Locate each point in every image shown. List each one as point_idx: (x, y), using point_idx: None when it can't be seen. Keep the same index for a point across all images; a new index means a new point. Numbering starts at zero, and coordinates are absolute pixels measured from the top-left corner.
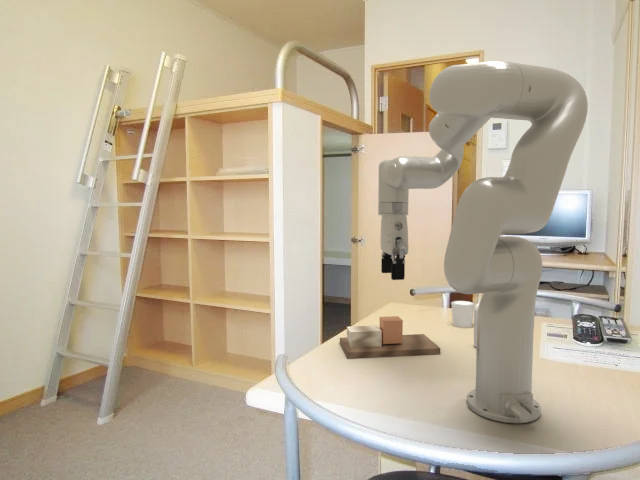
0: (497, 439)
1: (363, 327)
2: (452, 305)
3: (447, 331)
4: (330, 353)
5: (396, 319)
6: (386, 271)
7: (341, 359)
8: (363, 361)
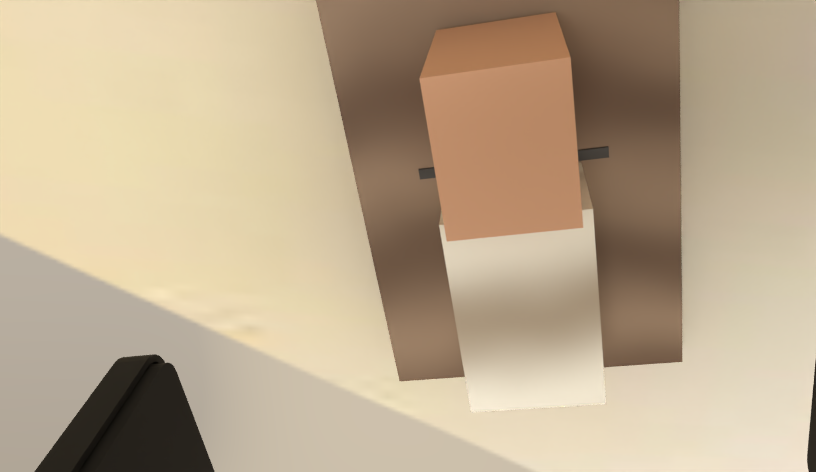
0: None
1: (495, 319)
2: None
3: None
4: (577, 409)
5: (540, 110)
6: (202, 467)
7: (680, 366)
8: (731, 264)
